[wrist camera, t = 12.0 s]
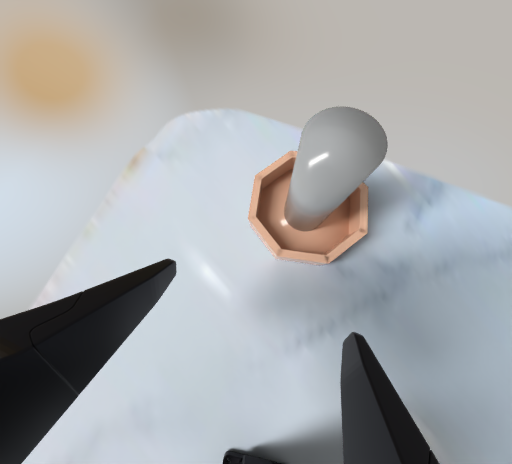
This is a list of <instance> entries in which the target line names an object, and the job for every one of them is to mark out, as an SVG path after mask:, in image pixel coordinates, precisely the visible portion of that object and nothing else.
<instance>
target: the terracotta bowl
mask: <svg viewBox="0 0 512 464" xmlns="http://www.w3.org/2000/svg"><path fill="white" fill-rule="evenodd" d="M297 152H298V151H289V152H288V153H287V154H285V155H284V156H282V157H281V158H279V159H278V160H277V161H275V162H274V163H272V164H271V165H269V166H268V167H267V168H265V169H264V170H262V171H261V172H259V173H258V174H257V175H255V179H254V185H253V191H252V197H251V203H250V209H249V215H248V220H249V223H250V226H251V227H252V229H253V230H254V231H255V233H256V234H257V235H258V237H259V238H260V239H261V240H262V242H263V243H264V244H265V246H266V247H267V248H268V250H269V251H270V252H271V254H272V255H273V256H274V257H275V259H277V260H284V261H291V262H298V263H305V264H312V265H319V266H320V265H325V264H329V263H330V262H331V261H333V260H334V259H335V258H337V257H338V256H339V255H340V254H342V253H343V252H344V251H345V250H347V249H348V248H349V247H351V246H352V245H353V244H354V243H356V242H357V241H358V240H359V239H361V238H362V237H363V236H365V235H366V234H367V224H368V187H367V186H366V185H365V184H364V183H363V182H362V183H361V184H360V185H359V186H358V187H357V188H356V189H355V190H354V191H353V192H352V193H351V194H350V195H349V196H348V197H347V198H346V199H345V200H344V201H343V202H342V204H341V205H340V206H339V207H338V208H337V209H336V210H335V211H334V212H333V213H332V214H331V215H330V216H329V217H328V218H327V219H326V220H325V221H324V222H323V223H322V224H321V225H320V226H319V227H317V228H316V229H314V230H312V231H299V230H296V229H294V228H292V227H291V226H290V225H289V224H288V223H287V221H286V219H285V217H284V207H285V202H286V198H287V194H288V190H289V185H290V181H291V177H292V173H293V169H294V164H295V160H296V156H297Z"/></svg>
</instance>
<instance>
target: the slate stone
mask: <svg viewBox="0 0 512 464" xmlns="http://www.w3.org/2000/svg"><path fill="white" fill-rule="evenodd" d="M386 152H387V137H386V134H385V132H384V130H383V128H382V126H381V125H380V124H379V122H378V121H377V120H376V119H374V118H373V117H372V116H370V115H369V114H367V113H366V112H364V111H361V110H359V109H355V108H350V107H332V108H328V109H325V110H322V111H321V112H319V113H317V114H315V115H314V116H313V117H312V118H311V119H310V120H309V121H308V122H307V123H306V125H305V127H304V129H303V131H302V135H301V139H300V143H299V148H298V152H297V156H296V160H295V164H294V169H293V173H292V177H291V181H290V185H289V190H288V194H287V198H286V202H285V207H284V217H285V219H286V221H287V223H288V224H289V225H290V226H291V227H292V228H294V229H296V230H299V231H312V230H314V229H316V228H317V227H319V226H320V225H321V224H322V223H323V222H324V221H325V220H326V219H327V218H328V217H329V216H330V215H331V214H332V213H333V212H334V211H335V210H336V209H337V208H338V207H339V206H340V205H341V204H342V202H343V201H344V200H345V199H346V198H347V197H348V196H349V195H350V194H351V193H352V192H353V191H354V190H355V189H356V188H357V187H358V186H359V185H360V184H361V183H362V182H363V181H364V180H365V179H366V178H367V177H368V176H369V175H370V174H371V173H372V172H373V171H374V170H375V169H376V168H377V167H378V166H379V165H380V164H381V163H382V161H383V159H384V158H385V155H386Z"/></svg>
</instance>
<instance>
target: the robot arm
mask: <svg viewBox="0 0 512 464" xmlns="http://www.w3.org/2000/svg"><path fill="white" fill-rule="evenodd" d="M175 275H176V262H175V261H174V260H171V259H165V260H162V261H160V262H157V263H155V264H152V265H149V266H147V267H144V268H142V269H139V270H136V271H134V272H131V273H129V274H126V275H123V276H121V277H118V278H116V279H113V280H110V281H108V282H105V283H103V284H100V285H98V286H95V287H92V288H90V289H87V290H85V291H84V292H83V291H82V292H79V293H77V294H74V295H71V296H69V297H66V298H63V299H60V300H58V301H55V302H52V303H49V304H46V305H43V306H40V307H37V308H34V309H31V310H28V311H25V312H22V313H19V314H16V315H13V316H9V317H6V318H3V319H0V464H21V463H22V462H23V461H24V460H25V459H26V458H27V456H28V455H29V454H30V453H31V452H32V450H33V449H34V448H35V447H36V446H37V444H38V443H39V442H40V441H41V440H42V439H43V437H44V436H45V435H46V434H47V433H48V431H49V430H50V429H51V428H52V427H53V425H54V424H55V423H56V422H57V421H58V420H59V418H60V417H61V416H62V415H63V414H64V412H65V411H66V410H67V409H68V408H69V406H70V405H71V404H72V403H73V402H74V401H75V399H76V398H77V397H78V396H79V394H80V393H81V392H82V391H83V390H84V388H85V387H86V386H87V385H88V384H89V383H90V381H91V380H92V379H93V378H94V377H95V375H96V374H97V373H98V372H99V371H100V369H101V368H102V367H103V366H104V365H105V364H106V362H107V361H108V360H109V359H110V358H111V356H112V355H113V354H114V353H115V352H116V351H117V349H118V348H119V347H120V346H121V345H122V343H123V342H124V341H125V340H126V339H127V337H128V336H129V335H130V334H131V333H132V332H133V330H134V329H135V328H136V327H137V326H138V324H139V323H140V322H141V321H142V320H143V318H144V317H145V316H146V315H147V314H148V313H149V311H150V310H151V309H152V308H153V307H154V305H155V304H156V303H157V302H158V300H159V299H160V297H161V296H162V295H163V293H164V292H165V290H166V289H167V287H168V286H169V284H170V283H171V281H172V280H173V278H174V277H175ZM341 408H342V432H343V457H344V464H439V462H438V460H437V459H436V457H435V455H434V454H433V452H432V451H431V450H430V447H429V445H428V444H427V442H426V440H425V439H424V437H423V435H422V434H421V432H420V430H419V429H418V427H417V425H416V424H415V422H414V420H413V419H412V417H411V415H410V414H409V412H408V410H407V409H406V407H405V405H404V404H403V402H402V400H401V399H400V397H399V395H398V394H397V392H396V390H395V389H394V387H393V385H392V383H391V382H390V380H389V378H388V377H387V375H386V373H385V372H384V370H383V368H382V367H381V365H380V363H379V362H378V360H377V358H376V357H375V355H374V353H373V352H372V350H371V348H370V347H369V345H368V343H367V342H366V340H365V338H364V337H363V336H362V335H360V334H358V333H355V332H352V333H351V334H350V335H349V336H348V337H347V338H346V339H345V340H344V342H343V349H342V365H341ZM227 458H230V459H231V460H227ZM223 464H281V463H277V462H273V461H269V460H266V459H262V458H257V457H253V456H249V455H244V454H240V453H236V452H232V451H227V452H226V453H225V455H224V459H223Z"/></svg>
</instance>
